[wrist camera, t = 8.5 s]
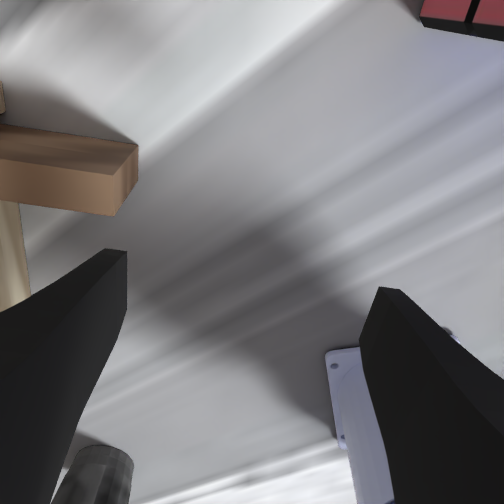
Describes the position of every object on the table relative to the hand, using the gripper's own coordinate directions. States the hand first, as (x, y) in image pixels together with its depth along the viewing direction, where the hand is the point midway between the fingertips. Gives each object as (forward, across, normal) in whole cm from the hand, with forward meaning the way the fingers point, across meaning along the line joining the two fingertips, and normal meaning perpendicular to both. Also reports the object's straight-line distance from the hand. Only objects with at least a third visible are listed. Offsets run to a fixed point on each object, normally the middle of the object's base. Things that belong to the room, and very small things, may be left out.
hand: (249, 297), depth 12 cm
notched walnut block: (+10, +13, 0) cm, 16 cm away
